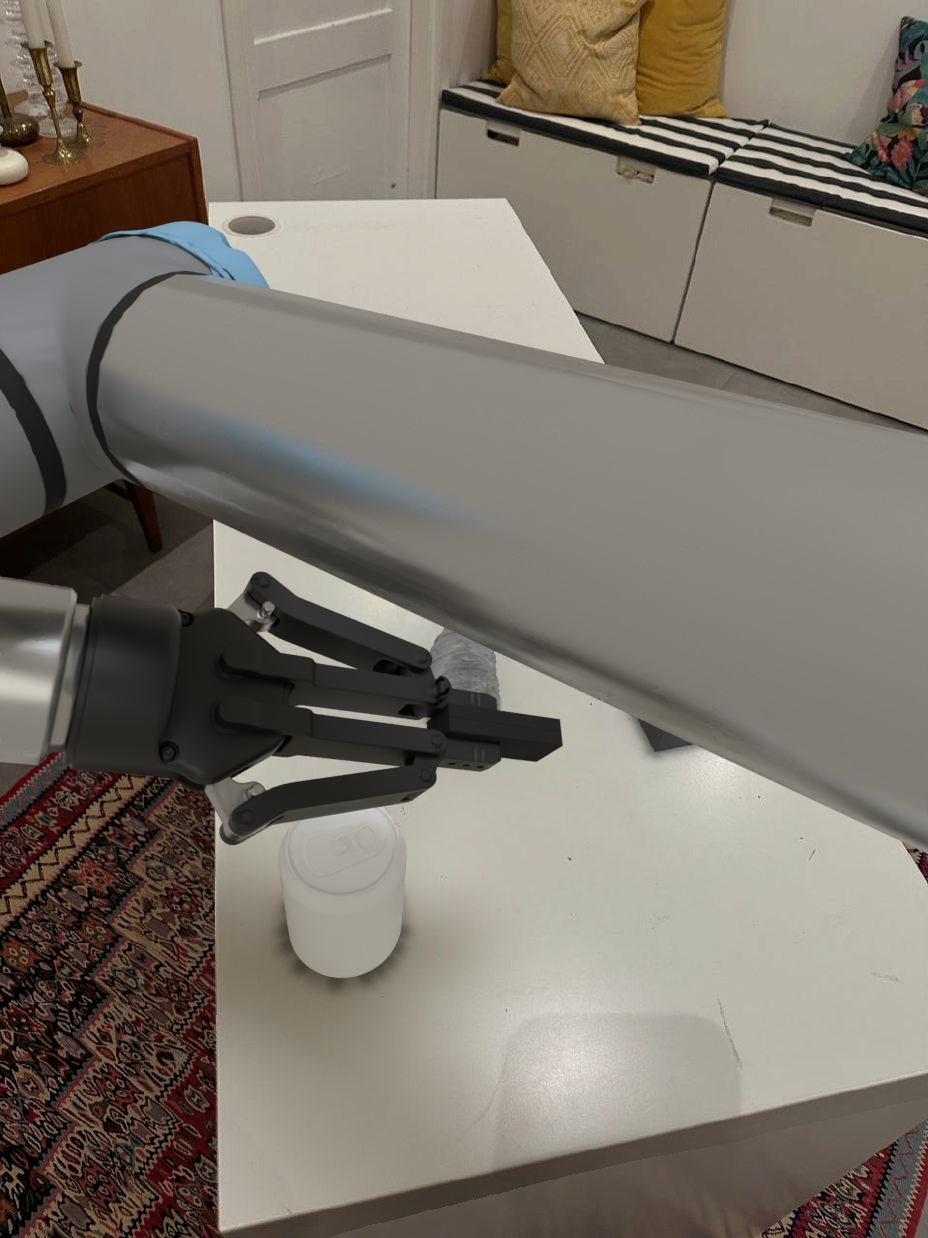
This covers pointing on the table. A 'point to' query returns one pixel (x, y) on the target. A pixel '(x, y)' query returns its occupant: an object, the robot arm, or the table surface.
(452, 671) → the grey ridged oval piece
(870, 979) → the table surface
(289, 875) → the beverage can
